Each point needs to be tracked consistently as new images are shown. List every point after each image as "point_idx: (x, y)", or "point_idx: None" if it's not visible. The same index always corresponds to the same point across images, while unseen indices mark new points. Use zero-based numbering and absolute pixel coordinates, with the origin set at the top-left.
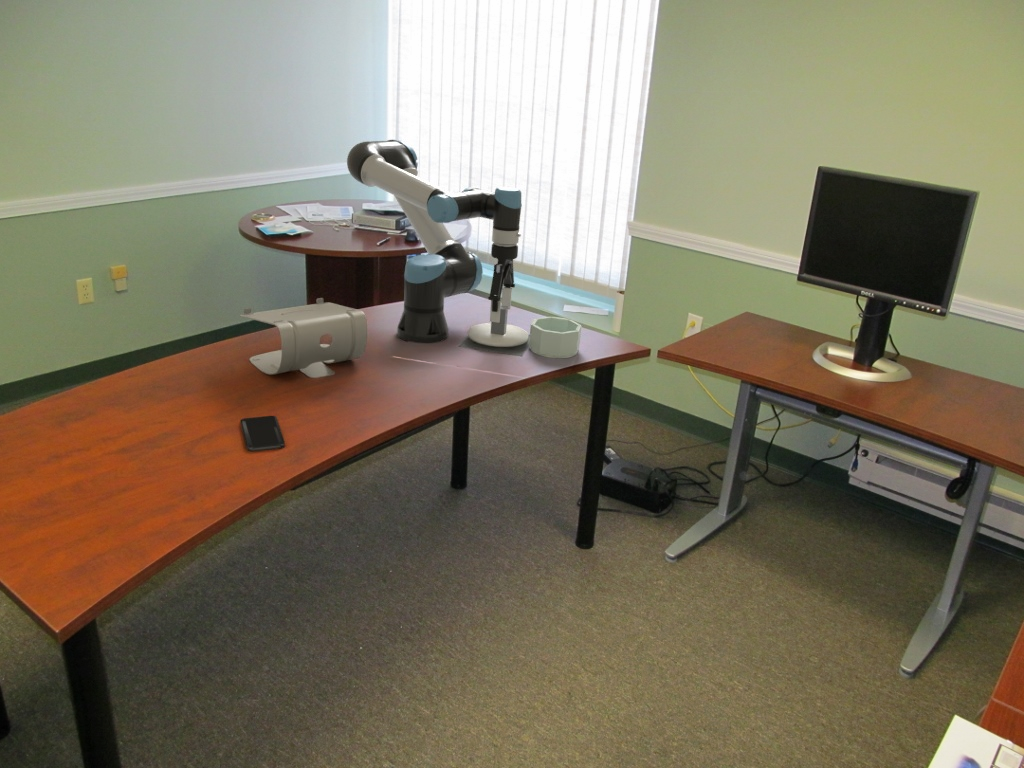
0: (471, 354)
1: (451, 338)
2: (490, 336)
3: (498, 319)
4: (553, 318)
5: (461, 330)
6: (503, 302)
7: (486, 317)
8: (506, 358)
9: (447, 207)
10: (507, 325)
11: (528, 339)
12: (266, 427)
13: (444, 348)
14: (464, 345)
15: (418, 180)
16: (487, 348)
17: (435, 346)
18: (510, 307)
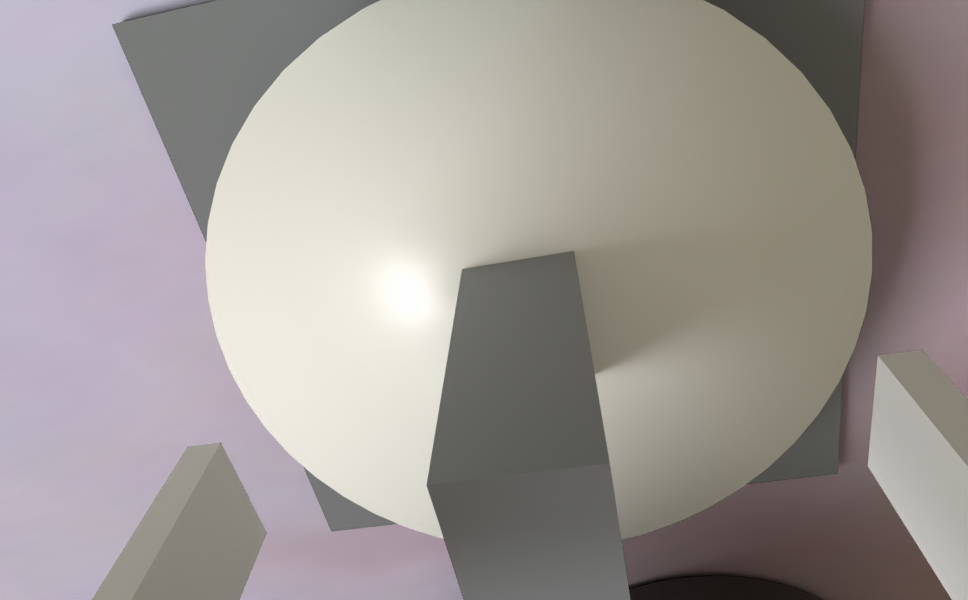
0: (956, 331)
1: (654, 558)
2: (684, 342)
3: (949, 390)
4: None
5: (452, 567)
6: (223, 589)
7: (68, 543)
8: (958, 7)
9: None
10: (255, 336)
11: (283, 37)
12: None
13: (890, 523)
14: (796, 445)
15: None
16: None
17: (872, 575)
18: (180, 462)
